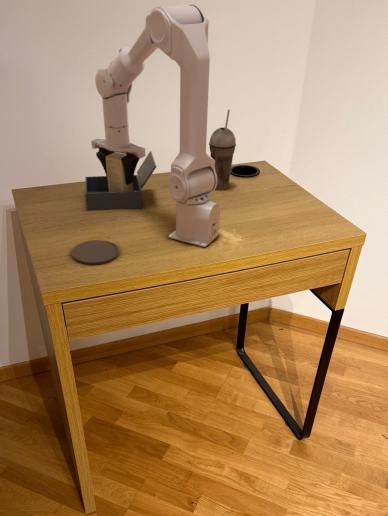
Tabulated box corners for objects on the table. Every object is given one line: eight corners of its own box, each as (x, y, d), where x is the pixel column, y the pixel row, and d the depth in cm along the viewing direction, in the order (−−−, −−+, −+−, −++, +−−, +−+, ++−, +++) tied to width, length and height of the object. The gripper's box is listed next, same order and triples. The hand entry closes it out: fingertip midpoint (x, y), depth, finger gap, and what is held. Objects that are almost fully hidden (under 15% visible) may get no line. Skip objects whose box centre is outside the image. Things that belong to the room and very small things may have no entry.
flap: (136, 172, 131) (137, 173, 131) (140, 188, 122) (141, 189, 122) (150, 150, 128) (151, 151, 128) (155, 165, 119) (156, 166, 120)
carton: (137, 190, 134) (137, 174, 132) (141, 207, 125) (141, 191, 123) (87, 192, 132) (85, 176, 130) (87, 210, 123) (85, 193, 121)
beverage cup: (202, 183, 140) (205, 107, 127) (225, 180, 142) (231, 105, 129) (213, 193, 134) (217, 114, 122) (237, 189, 137) (243, 112, 124)
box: (134, 198, 129) (132, 155, 122) (124, 203, 126) (121, 159, 120) (118, 193, 131) (115, 151, 124) (108, 199, 128) (104, 155, 122)
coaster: (127, 249, 108) (127, 246, 108) (101, 269, 101) (100, 266, 101) (90, 238, 111) (90, 236, 111) (62, 257, 104) (61, 254, 104)
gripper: (151, 125, 118) (152, 181, 126) (101, 116, 123) (105, 171, 131) (135, 132, 113) (138, 190, 121) (83, 123, 118) (89, 179, 126)
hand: (120, 181), depth 126 cm, fingers closed on box, 5 cm apart
